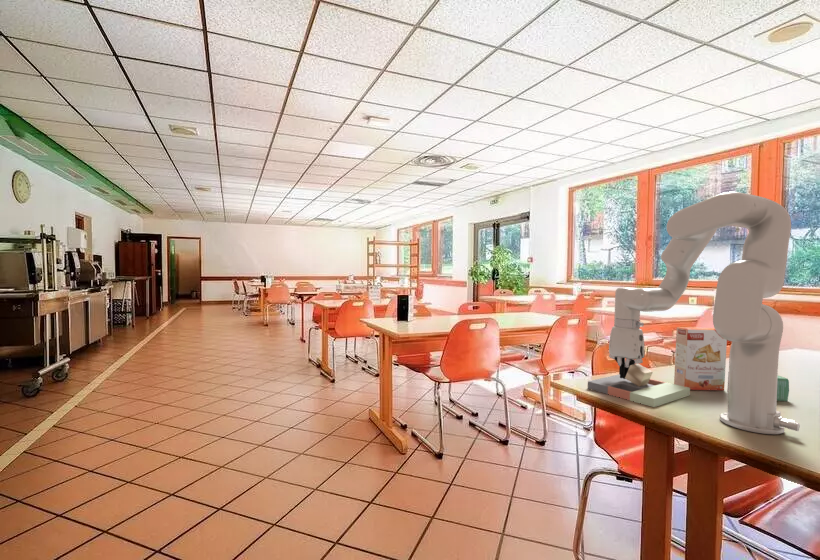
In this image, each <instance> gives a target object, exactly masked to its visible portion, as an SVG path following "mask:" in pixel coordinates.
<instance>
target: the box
mask: <svg viewBox="0 0 820 560" xmlns="http://www.w3.org/2000/svg"><path fill="white" fill-rule="evenodd" d="M727 372H728V373H727V375H728V377H727V382H728V381H729V371H727ZM726 390H727V391H726V392H727V393H728V388H727V389H726ZM789 394H790V380H789V379H788V377H787V378H786V377H784V376H781V375H778V378H777V401H780V402H788V400H789Z"/></svg>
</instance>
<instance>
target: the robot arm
mask: <svg viewBox="0 0 820 560" xmlns="http://www.w3.org/2000/svg"><path fill="white" fill-rule="evenodd" d="M727 226H730V227H739V228H744V229H746V230H748V233H747V236H746V238H745V239H744V243H743V247H742V253H741V254H742V255H741V260H737V261H733V262H732V263H730V264H728V265H727V266H725V267H724V268H723V269H722V271H721V272H720V273H719V277H718V279H717V284H716V289H715V299H714V305H713V314H712V325H713V328H715V330H716V332H717V333H718V334H719V335H720V336H721V337H722V338H724V339H726V340H727V342H728V341H729V342H731V345H730V348H729V358H728V359H729V360H728V361H729V362H728V372H729V381H728V380H727V389H728V392H727V412H722V413H720V414H719V420H720V421H721V422H722V423H724V424H726V425H728V426H730V427H733V428H735V429H736V428H737V429H739V430H742V431H746V432H752V433H757V434H763V435H781V434H784V433H785V428H786V429H788V430H791V431H795V432H799V431H800V423H799V422H796V420H793V419H789V418H788V419H787V418H784V416H781V413H782V412H781V411H779V410H777V404H778V403H777V378H778V376H779V373H778V372H779V355H780V346H781V341H782V337H783V331H784V322H783V319H782V316H781V314H780V313H779V312H778V311H777V310H776V309H774V308H773V307H772V306H770V305H767V304H764V303H763V299H766V298H767V299H769V298H772V297H774V296H776V295H778V294H779V293H780V292H781V290H782V289H783V286H784V284H785V283H784V282H785V276H786V275H785V274H786V269H787V261H788V254H789V253H788V251H789V244H790V238H791V231H792V219H791V216H790V214H789V212H788V211H787V209H786V208H785V207H784V206H783V205H781V204H780V203H778V202H777V201H775V200H773V199H772V200H771V199H769V198H766V197H765V196H764V197H763V196H759V195H755V194H750V193H743V192H739V191H729V192H728V191H727V192H722V193H720V194H717V195H714V196H711V197H709V198H706V199H704V200H702V201H699V202H696V203H694V204H691V205H689V206H686V207H684V208H682V209H680V210H678V211H676V212H675V213H673V214H672V215H671V217H669V219H668V220H667V223H666V233H667V234H668V235H669V236H670V237H671V239H670V240H669V243H668V244H667V245H666V247H665V249H664V250H663V251H662V253H661V254H660V259H661V261H663V263H664V264H665V267H666V273H665V276H664V278H663V279H662V281H660V282H661V283H660V284H659V285H658V287H646V288H645V287H644V288H643V287H639V288H636V287H618V288H617V289H615V292H614V294H615V295H614V296H615V297H614V319H613V320H614V321H613V322H614V323H613V324H614V326H612V327H611V331H610V335H609V340H608V341H609V342H608V353H609V355H608V356H609V359H612V360H614V361H615V362H616V363H617V365H618V367H619V371H618V373H619V374H620V378H623V379H625V377H626V374H627V372H628V369H629V367H630V365H633V364H640V365H641V364H643V362H644V360H643V359H644V358H645V353H646V352H645V351H646V350H645V349H646V348H645V337H644V332H643V329H641V327H644V322H642V321H641V312H645V313H646V312H647V313H648V312H649V313H650V312H666V311H669V310H670V309H671V308H673V307H674V306H675V304H677V302H678V301H679V300H680V298H681V297H682V296H683V294H684V293H685V291H686V289H687V287H688V284H689V281H690V278H691V277H690V276H691V270H692V267H693V265H694V264H695V263H696V261H697V260H698V258H699V257H700V256H701V254H702V252H703V251H704V250H705V248H706V247H707V246H708V244H709V243H710V241H711V240H712V239H713V237H714V235H715V234H716V232H717V230H718V229H720V228H724V227H727ZM619 374H618V375H619Z"/></svg>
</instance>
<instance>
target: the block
mask: <svg viewBox="0 0 820 560" xmlns="http://www.w3.org/2000/svg"><path fill="white" fill-rule="evenodd" d="M653 372H654V371H653V370H650V369H649V368H648V367H645V366H643V365H642V364H641V363H640V364H633V365H630V367H629V369H628V372H627V374H626V377H625V379H627V380H629V381H630V382H632V383H634V384H636V385H637V386H639V387H640V386H644V385H647V384H648V382H649V380H650V379H651V377H652V375H653Z"/></svg>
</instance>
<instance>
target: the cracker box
mask: <svg viewBox="0 0 820 560" xmlns="http://www.w3.org/2000/svg"><path fill="white" fill-rule="evenodd" d="M675 339H676V340H675V354H674V355H675V357H674V359H675V360H674V376H673V377H674V379H673V384H676V385H680V386H684V387H689V388H690V391H693V390H694V391H725V386H726V385H725V382H726V364H727V343H728V340H726V339H724V338H722V337H721V336H720V335H719V334H718V333H717V332H716V330H715V328H714V327H694V326H693V327H691V326H687V327H686V326H677V327H676V336H675Z"/></svg>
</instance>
